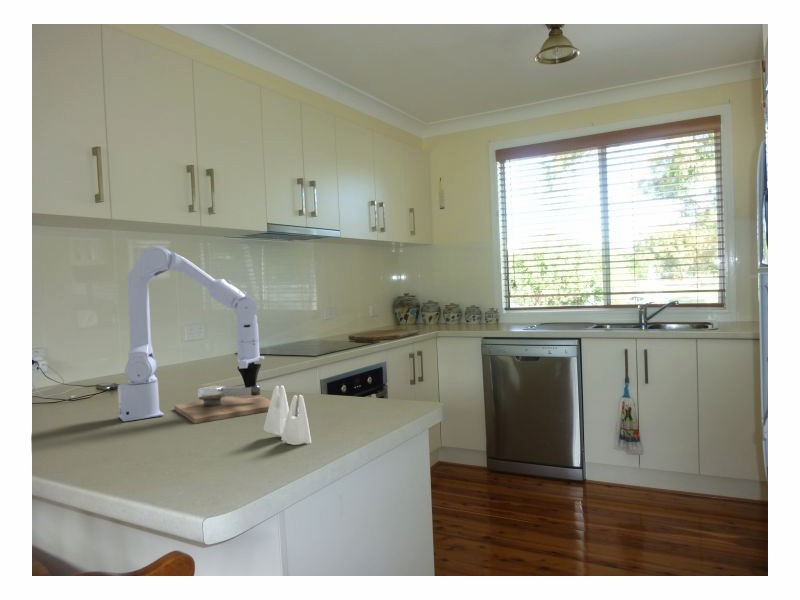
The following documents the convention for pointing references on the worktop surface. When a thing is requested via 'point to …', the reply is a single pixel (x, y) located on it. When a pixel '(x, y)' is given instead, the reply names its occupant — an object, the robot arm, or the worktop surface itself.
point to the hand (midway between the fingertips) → (250, 391)
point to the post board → (223, 408)
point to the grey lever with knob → (226, 391)
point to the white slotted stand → (287, 418)
